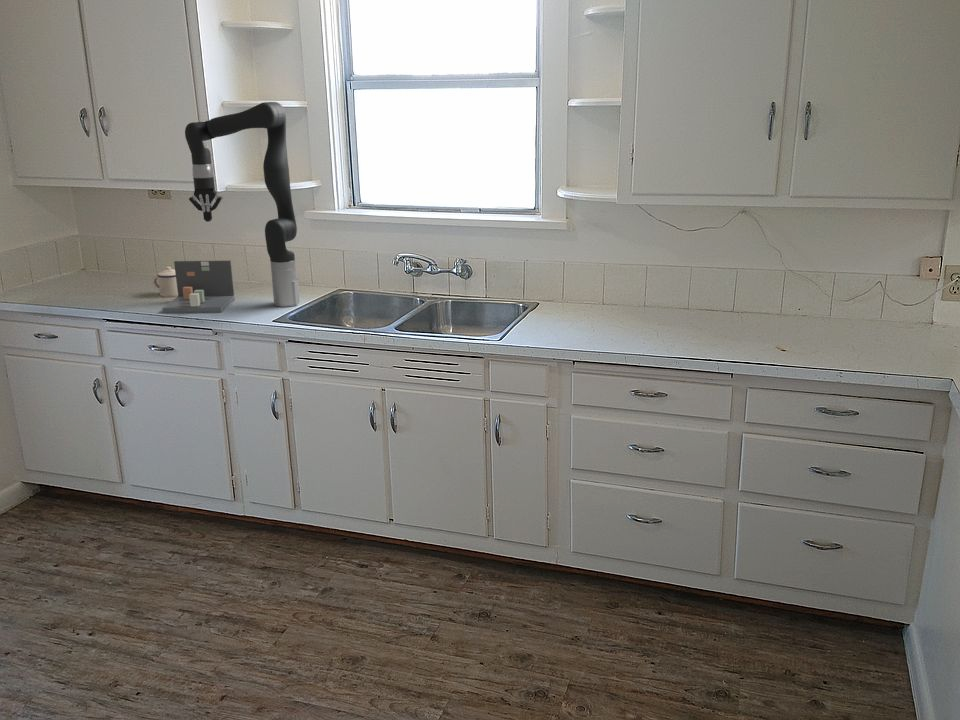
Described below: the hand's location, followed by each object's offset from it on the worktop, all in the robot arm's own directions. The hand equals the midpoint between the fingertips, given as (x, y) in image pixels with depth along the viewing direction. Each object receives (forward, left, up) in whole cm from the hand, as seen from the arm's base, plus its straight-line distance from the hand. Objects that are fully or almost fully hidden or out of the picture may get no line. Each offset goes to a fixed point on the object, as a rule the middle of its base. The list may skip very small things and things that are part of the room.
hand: (208, 221), depth 338 cm
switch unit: (+3, +12, -31) cm, 33 cm away
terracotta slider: (+8, +9, -29) cm, 31 cm away
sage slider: (+2, +15, -29) cm, 32 cm away
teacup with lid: (+22, -8, -31) cm, 39 cm away
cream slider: (+2, +20, -29) cm, 35 cm away
